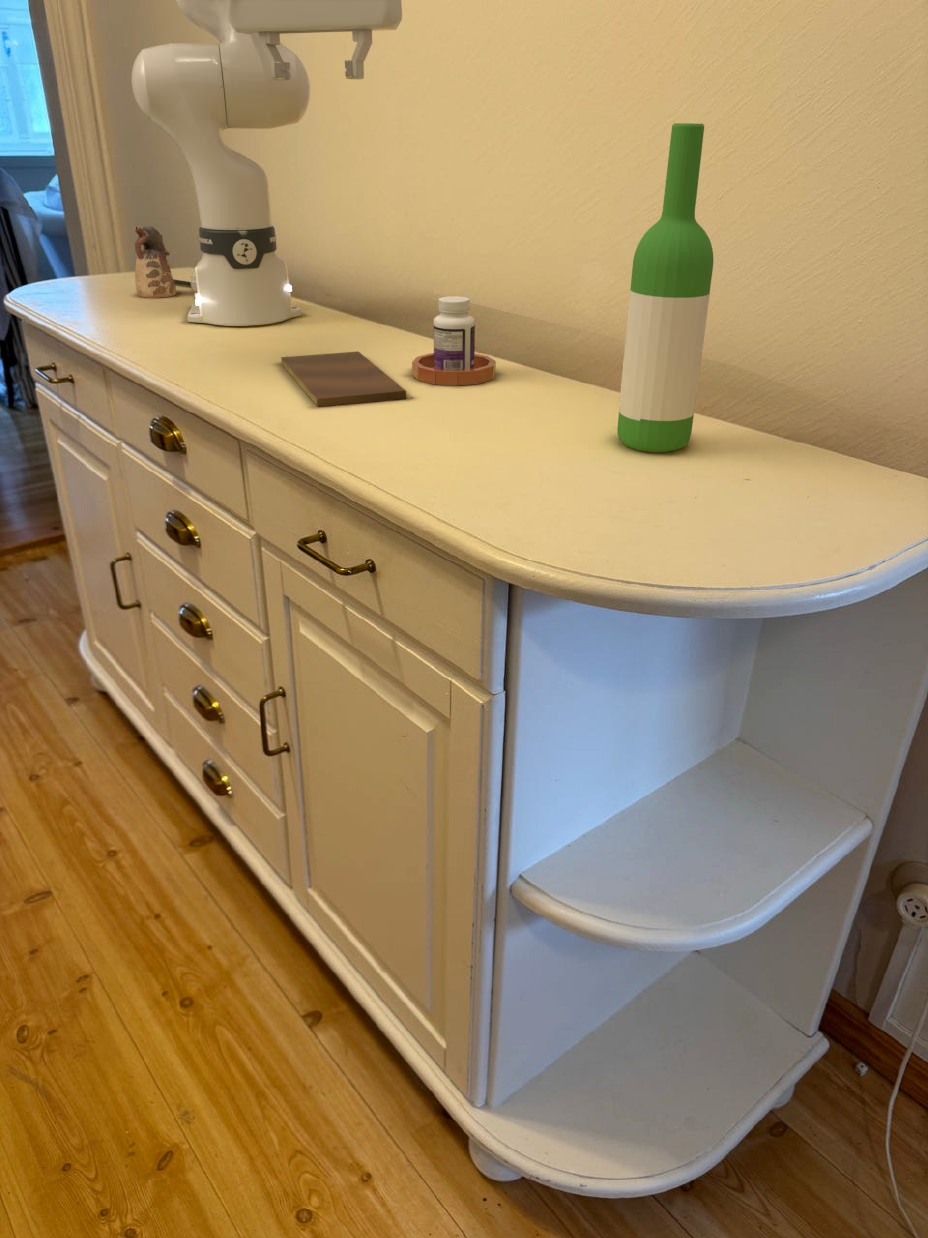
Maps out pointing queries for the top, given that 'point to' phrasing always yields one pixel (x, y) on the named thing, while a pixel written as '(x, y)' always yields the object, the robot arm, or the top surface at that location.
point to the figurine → (152, 265)
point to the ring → (453, 371)
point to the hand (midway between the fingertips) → (317, 79)
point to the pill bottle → (454, 335)
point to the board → (341, 379)
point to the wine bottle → (667, 310)
